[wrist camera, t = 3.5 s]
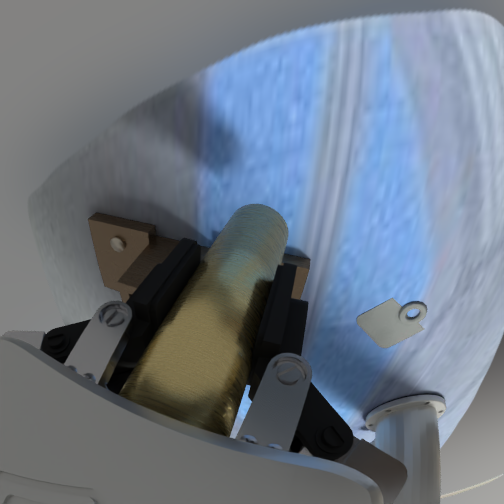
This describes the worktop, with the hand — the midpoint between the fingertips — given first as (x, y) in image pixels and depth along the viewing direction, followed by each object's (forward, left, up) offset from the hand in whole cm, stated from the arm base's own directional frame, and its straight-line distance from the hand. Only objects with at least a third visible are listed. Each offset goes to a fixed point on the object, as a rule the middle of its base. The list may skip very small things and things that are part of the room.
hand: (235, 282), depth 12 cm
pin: (0, 0, -4) cm, 4 cm away
